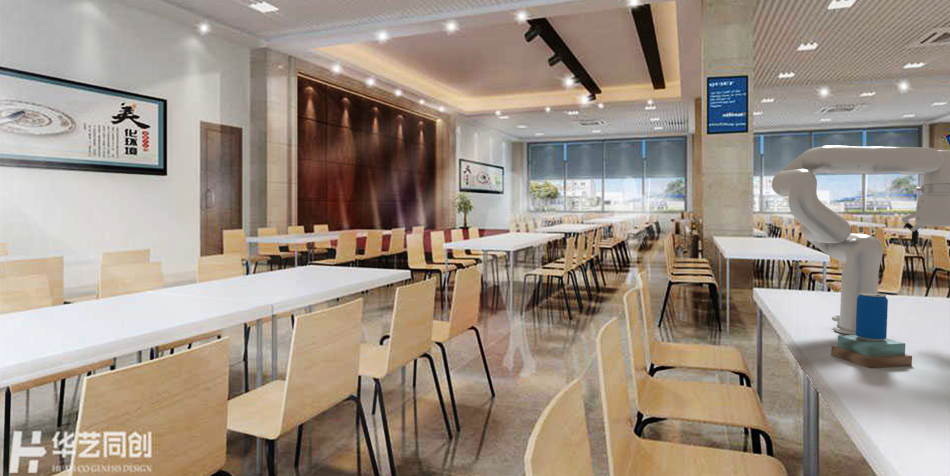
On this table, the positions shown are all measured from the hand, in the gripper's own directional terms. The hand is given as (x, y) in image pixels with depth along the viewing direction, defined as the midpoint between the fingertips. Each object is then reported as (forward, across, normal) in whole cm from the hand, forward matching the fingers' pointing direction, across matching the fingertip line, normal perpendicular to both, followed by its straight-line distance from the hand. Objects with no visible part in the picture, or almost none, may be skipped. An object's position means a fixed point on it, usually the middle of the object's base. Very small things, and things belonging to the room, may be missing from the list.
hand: (935, 244), depth 166 cm
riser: (+28, -7, -50) cm, 58 cm away
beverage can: (+23, -7, -49) cm, 55 cm away
